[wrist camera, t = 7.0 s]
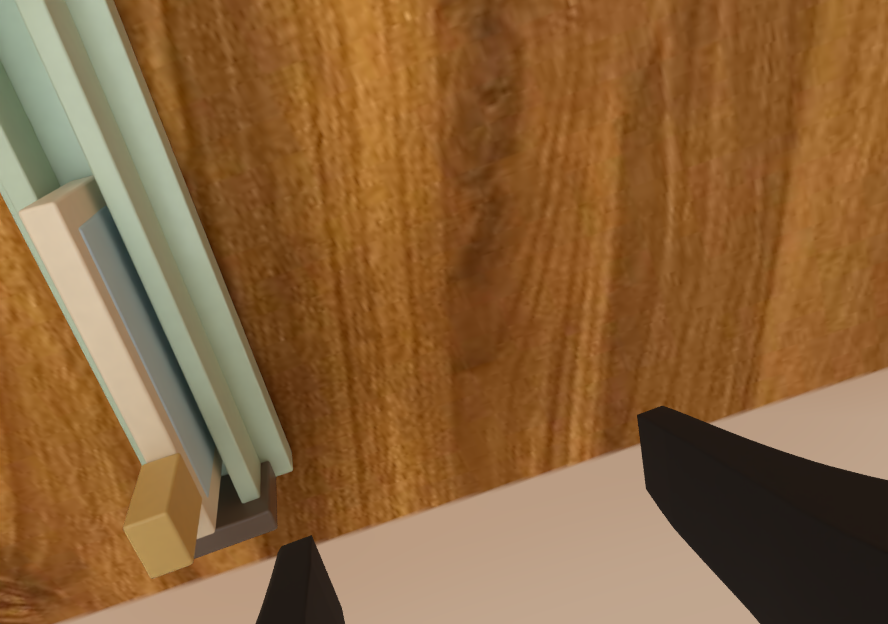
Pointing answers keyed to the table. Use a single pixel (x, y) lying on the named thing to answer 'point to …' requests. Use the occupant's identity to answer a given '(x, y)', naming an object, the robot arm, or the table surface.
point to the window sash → (132, 373)
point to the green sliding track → (137, 228)
